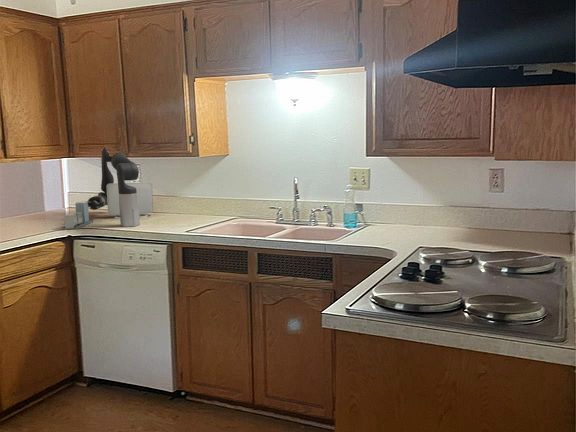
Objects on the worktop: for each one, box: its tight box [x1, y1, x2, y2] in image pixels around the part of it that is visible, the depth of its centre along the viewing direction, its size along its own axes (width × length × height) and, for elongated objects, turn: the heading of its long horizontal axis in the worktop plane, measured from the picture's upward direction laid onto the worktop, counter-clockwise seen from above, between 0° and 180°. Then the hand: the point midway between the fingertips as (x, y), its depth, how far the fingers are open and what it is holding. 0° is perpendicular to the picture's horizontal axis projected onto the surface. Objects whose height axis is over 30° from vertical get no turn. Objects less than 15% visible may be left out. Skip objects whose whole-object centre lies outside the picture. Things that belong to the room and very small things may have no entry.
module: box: [74, 200, 90, 223], centre depth 320 cm, size 6×5×12 cm
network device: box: [106, 181, 154, 220], centre depth 342 cm, size 26×9×20 cm, turn 108°
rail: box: [61, 211, 94, 230], centre depth 313 cm, size 23×8×8 cm, turn 178°
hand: (86, 206), depth 326 cm, fingers open, 8 cm apart
